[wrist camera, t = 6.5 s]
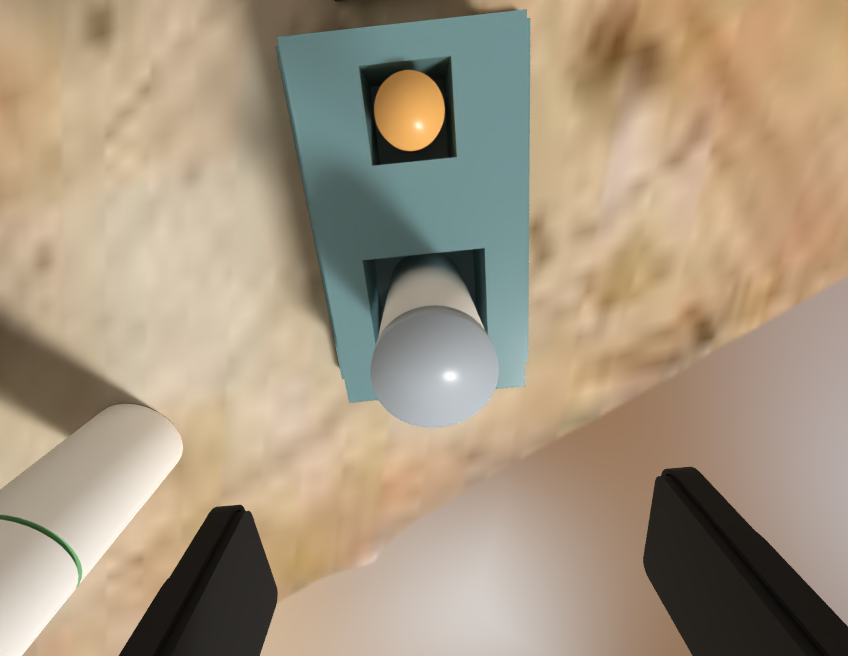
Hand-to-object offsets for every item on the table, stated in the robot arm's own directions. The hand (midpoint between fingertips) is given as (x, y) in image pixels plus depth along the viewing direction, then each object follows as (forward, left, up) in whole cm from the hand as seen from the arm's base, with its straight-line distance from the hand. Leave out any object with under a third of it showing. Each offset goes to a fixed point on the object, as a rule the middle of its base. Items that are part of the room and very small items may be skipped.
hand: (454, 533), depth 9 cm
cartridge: (0, 0, -19) cm, 19 cm away
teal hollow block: (-4, 0, -20) cm, 21 cm away
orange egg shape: (-10, 0, -18) cm, 21 cm away
